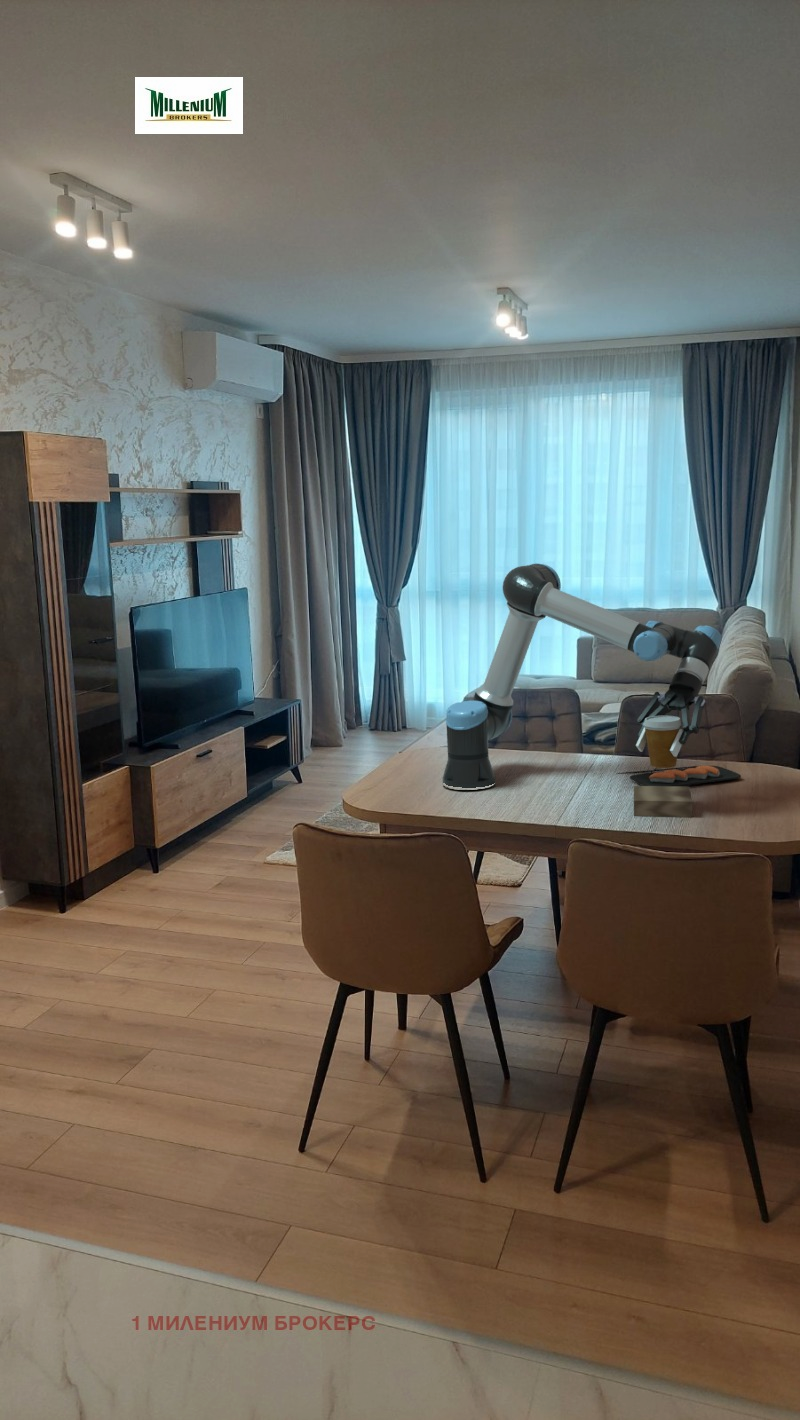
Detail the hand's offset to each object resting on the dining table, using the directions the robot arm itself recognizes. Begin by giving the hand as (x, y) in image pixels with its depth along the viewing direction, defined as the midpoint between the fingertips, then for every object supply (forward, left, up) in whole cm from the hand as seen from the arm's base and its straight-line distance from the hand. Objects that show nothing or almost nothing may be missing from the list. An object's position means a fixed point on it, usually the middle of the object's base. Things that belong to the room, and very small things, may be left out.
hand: (655, 751), depth 247 cm
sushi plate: (+5, +38, -16) cm, 41 cm away
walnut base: (+2, +3, -16) cm, 16 cm away
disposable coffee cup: (+2, +3, -4) cm, 5 cm away
